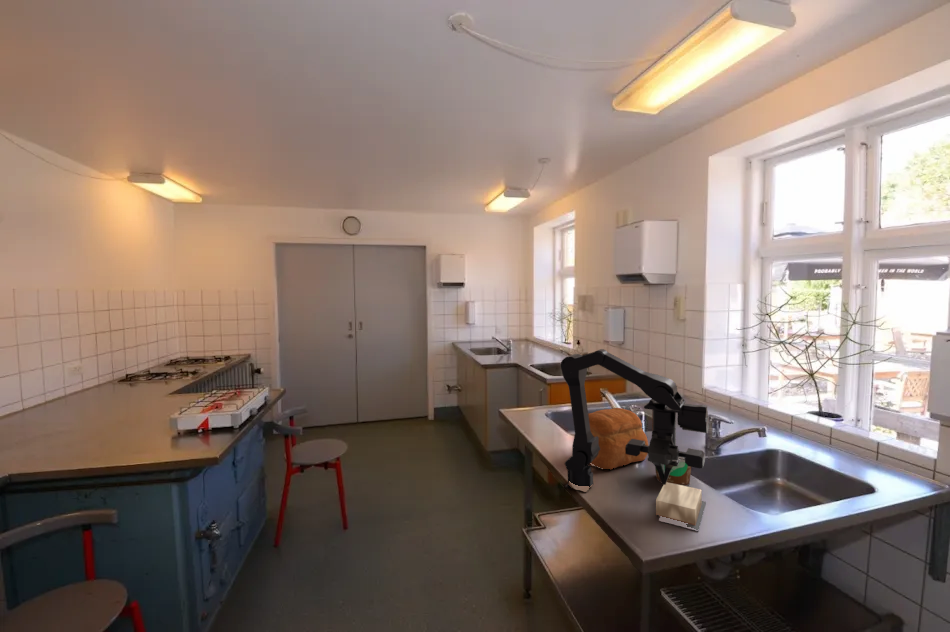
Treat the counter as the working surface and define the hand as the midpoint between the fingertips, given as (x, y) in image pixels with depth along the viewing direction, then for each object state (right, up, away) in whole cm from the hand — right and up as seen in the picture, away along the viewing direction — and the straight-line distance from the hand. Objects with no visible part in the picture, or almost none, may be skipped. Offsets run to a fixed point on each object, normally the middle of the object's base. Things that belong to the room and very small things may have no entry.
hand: (664, 483), depth 111 cm
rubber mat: (+4, -6, -2) cm, 8 cm away
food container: (+8, -6, +14) cm, 17 cm away
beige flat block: (-1, -4, +1) cm, 4 cm away
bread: (-3, -5, +33) cm, 34 cm away
